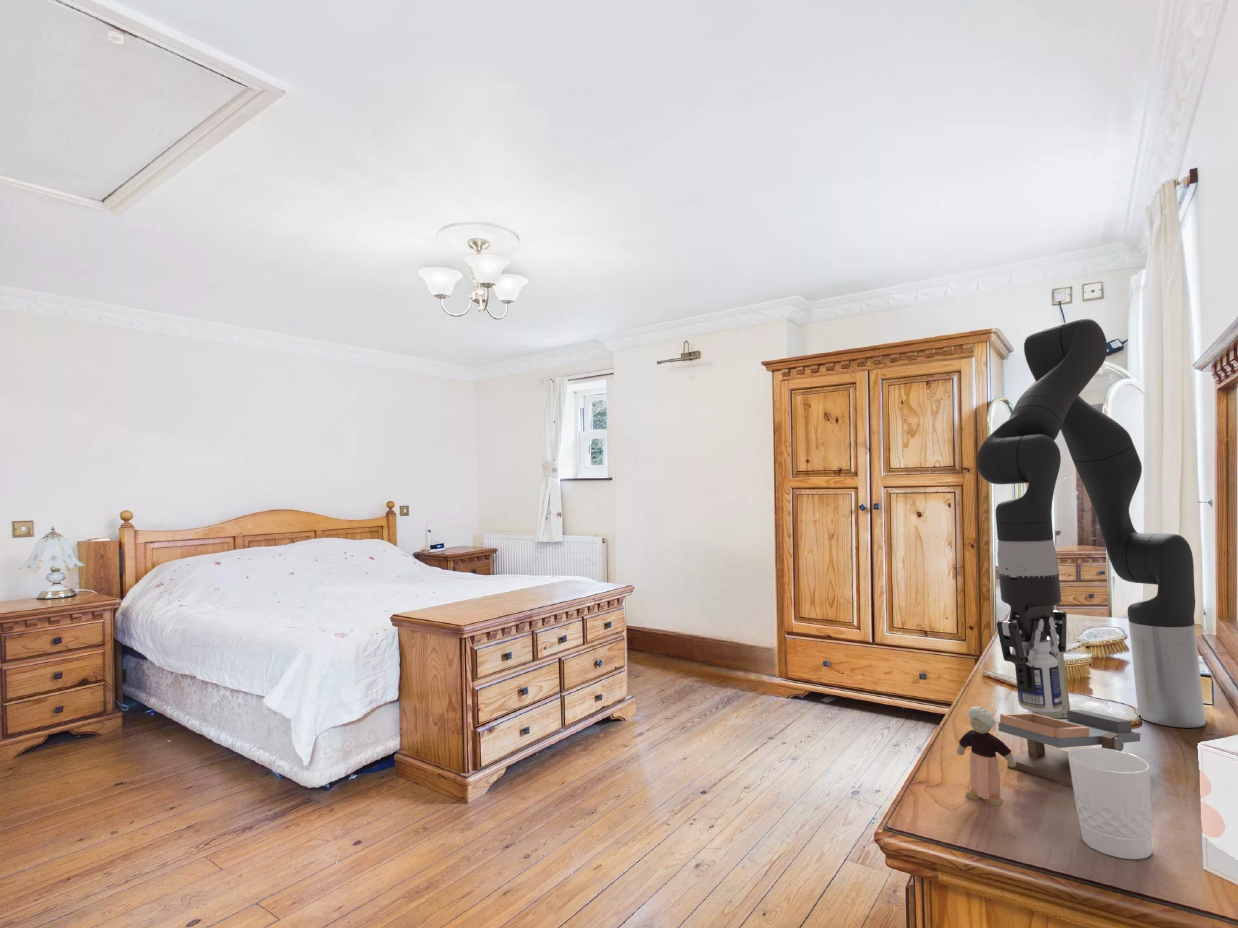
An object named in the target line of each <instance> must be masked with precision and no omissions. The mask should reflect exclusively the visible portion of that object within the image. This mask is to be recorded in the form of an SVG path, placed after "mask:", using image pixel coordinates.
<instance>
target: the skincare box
mask: <svg viewBox="0 0 1238 928" xmlns="http://www.w3.org/2000/svg"><path fill="white" fill-rule="evenodd" d="M1064 656H1065V655H1064V652H1060V657H1059V659H1057V661H1058V668H1059V678H1060V687H1061V697H1062V710H1061V711H1059V712H1054V713H1040V712H1038V713H1039V715H1042V716H1045V717H1049V718H1053V719H1067V710H1071V706H1070V705H1071V704H1070V699H1069V698H1070V697H1069V690H1068V688H1069V687H1068V681H1067V674H1066V666H1065V663H1066V662H1065V657H1064Z"/></svg>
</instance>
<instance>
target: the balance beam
mask: <svg viewBox="0 0 1238 928" xmlns="http://www.w3.org/2000/svg"><path fill="white" fill-rule="evenodd" d="M997 730H998V731H999V732H1000V733H1001V732H1002V733H1005V734H1009V735H1013V736H1016V737H1019V738H1023V739H1026V740H1027V739H1029V740H1033V741H1036V742H1040V743H1043V744H1044V745H1047V746H1050V747H1054V748H1057V749H1063V748H1064V749H1066V748H1075V747H1076V748H1079V747H1091V746H1102V743H1101V736H1102V735H1104V734H1107V733H1109V732H1110V733H1114V734H1118V735H1119V738H1121V739H1122V740H1123V743H1124V744H1126V743H1137V742H1141V732H1137V731H1132V721H1131V720H1127V719H1123V718H1119V717H1115V716H1111V715H1106V714H1102V713H1097V712H1094V711H1093V712H1092V711H1088V710H1086V709H1085V710H1083V709H1070V710H1067V718H1060V719H1058V718H1049V717H1045V716H1043V715H1042V716H1041V714H1038V715H1037V713H1031V712H1028V713H1027V712H1022V713H1000V714H999V721H998V729H997Z"/></svg>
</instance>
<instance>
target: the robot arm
mask: <svg viewBox="0 0 1238 928" xmlns="http://www.w3.org/2000/svg"><path fill="white" fill-rule="evenodd" d="M1023 350H1024V351H1023V352H1024V357H1025V361H1026V364H1027V365H1028V367H1029V368H1028V369H1029V370H1030V372H1031V374H1032V377H1033V379H1034V380H1035V382H1034V383H1033V384H1032V385H1030V387H1028V388H1027V389H1026V390H1025V391H1024V392H1023V393H1022V394H1021V396H1020V397H1019V398H1018V400H1017V402H1016V404H1015V406H1014V407H1013V409H1012V411H1011V413H1010V416H1009V418H1008V419H1007V420H1006V421H1004V422H1002V424H1000V426H999V427H997V428H996V429H995V430H994V431H993V432H992V433H991V434H990V435H989V436H987V438H985V440H983V442H982V444H981V446H980V447H979V450H978V453H977V456H976V465H977V466H976V468H977V470H978V473H979V474H980V476H981V477H982V479H984V480H985V481H986V482H988V483H990V484H993V485H1014V484H1015V485H1017V484H1028V486H1027V489H1026V491H1025V493H1024V494H1023V495H1022V496H1020V497H1017V498H1013V499H1009V500H1005V501H1001V502H1000V503H998V504H997V505H996V507H995V522H996V523H995V524H996V532H997V533H996V534H997V535H996V536H997V540H998V541H997V567H998V568H997V569H998V579H999V589H1000V599H1001V601H1002V602H1003V603H1005V604H1008V606H1009V607H1010V609H1009V610H1010V612H1009V616H1008V617H1009V618H1008V619H1007V620H997V622H996V628H997V629H996V630H997V634H998V638H999V644H1000V647H1001V653H1002V658H1003V660H1004V661H1005V662H1010V663H1012V664H1014V666H1015V668H1016V670H1015V678H1016V679H1017V680H1016V688H1017V687H1018V689H1019V690H1020V691H1025V692H1029V693H1032V692H1035V690H1036V686H1035V675H1034V666H1032V665H1033V659H1034V652H1035V651H1037V650H1038V649H1039V642H1040V640H1049V641H1050V646H1051V651H1050V652H1049V654H1050V655H1052V656H1054V657H1055V658H1056V659H1059V657H1060V652H1063V653H1066V651H1067V628H1068V627H1067V621H1068V620H1067V618H1068V617H1067V612H1066V611H1060V610H1054V608H1053V607H1055V606H1058V605H1059V604H1060V603H1061V602H1062V593H1061V585H1060V584H1061V583H1060V574H1059V573H1060V572H1059V571H1060V570H1059V564H1058V563H1059V562H1058V555H1057V550H1056V547H1055V541H1054V533H1053V522H1052V521H1053V520H1052V508H1053V507H1052V506H1053V501H1054V500H1053V499H1054V494H1055V488H1056V484H1057V480H1058V475H1059V473H1060V468H1061V463H1062V462H1061V461H1062V460H1061V459H1062V456H1061V450H1060V448H1059V446H1058V444H1057V443H1056V439H1057V438H1058V435H1059V433H1060V431H1061V434H1062V436H1063V439H1064V441H1065V444H1066V447H1067V449H1068V452H1069V455H1070V457H1071V460H1072V462H1073V465H1074V467H1075V470H1076V471H1077V473H1078V476H1079V478H1080V480H1081V482H1082V485H1083V487H1084V488H1085V491H1086V493H1087V496H1088V498H1089V501H1090V503H1091V506H1092V508H1093V511H1094V514H1095V516H1096V519H1097V522H1098V525H1099V529H1100V532H1101V536H1102V539H1103V543H1104V546H1105V549H1106V552H1107V556H1108V559H1109V561H1110V563H1111V566H1112V568H1113V570H1114V572H1115V573H1116V574H1117V576H1118V577H1119V578H1120V579H1121V580H1123V581H1125V582H1128V583H1135V584H1144V585H1145V584H1147V585H1157V593H1156V595H1155V596H1154V597H1152V598H1150V599H1148V600H1144V601H1139V602H1135V603H1132V604H1129V605H1128V607H1127V618H1128V629H1129V637H1130V639H1129V640H1130V649H1131V657H1132V658H1131V659H1132V665H1133V667H1132V669H1133V676H1134V687H1135V695H1136V704H1137V705H1136V707H1137V714H1139V715H1140V716H1141V717H1140V718H1141V719H1142V720H1145V721H1146V722H1150V723H1152V724H1156V725H1163V726H1167V727H1173V728H1185V729H1186V728H1188V729H1189V728H1201V727H1204V726H1205V725H1206V716H1205V707H1204V697H1203V695H1204V694H1203V688H1202V687H1203V685H1202V680H1201V679H1202V677H1201V676H1202V675H1201V668H1200V661H1199V658H1200V657H1199V651H1198V642H1197V634H1196V632H1197V631H1196V626H1195V625H1196V624H1195V623H1196V622H1195V610H1196V594H1195V591H1196V590H1195V568H1194V566H1195V565H1194V557H1193V551H1192V548H1191V545H1190V544H1189V542H1188V541H1187V539H1185V538H1184V537H1183V536H1182V535H1179V534H1176V533H1150V532H1148V533H1147V532H1146V533H1145V532H1144V533H1143V532H1142V533H1141V532H1137V530H1136V529H1135V527H1134V524H1133V523H1132V518H1131V514H1130V506H1131V502H1132V500H1133V498H1134V497H1133V496H1134V494H1135V492H1136V490H1137V488H1138V485H1139V483H1140V479H1141V477H1142V472H1143V471H1142V470H1143V468H1142V467H1143V466H1142V462H1141V459H1140V456H1139V454H1138V451H1137V449H1136V446H1135V444H1134V441H1133V439H1132V437H1131V435H1130V433H1129V432H1128V431H1127V429H1125V428H1124V427H1123V426H1122V425H1121V424H1120V423H1119V422H1117V421H1116V420H1114V419H1113V418H1111V417H1110V416H1108V415H1107V414H1105V413H1104V412H1101V411H1100V410H1099V409H1098V408H1096V407H1094V406H1092V405H1091V404H1089V403H1088V402H1087V401H1086V400H1085V399H1084V398H1082V397H1081V396H1080V394H1081V393H1082V391H1084V389H1085V388H1086V387H1087V385H1088V384H1089V383H1090V382H1091V380H1092V378H1093V377H1094V376H1095V375H1096V373H1097V372H1098V371H1099V370H1100V369H1101V368H1102V366H1103V364H1104V363H1105V360H1106V358H1107V356H1108V355H1107V354H1108V343H1107V338H1106V335H1105V333H1104V331H1103V328H1102V327H1101V325H1100V324H1099V323H1098V322H1097V321H1096V320H1094V319H1092V318H1087V317H1086V318H1085V317H1083V318H1078V319H1073V320H1070V321H1067V322H1063V323H1060V324H1057V325H1054V326H1051V327H1050V326H1049V327H1048V328H1043V329H1041V330H1037V331H1035V332H1032V333H1030V334H1029V335H1027V336H1026V338H1025V340H1024V343H1023ZM1022 641H1027V642H1029V643H1024V642H1022ZM1011 648H1012V649H1011ZM1023 649H1026V656H1025V655H1024V650H1023ZM1011 650H1012V651H1011ZM1015 668H1014V669H1015Z"/></svg>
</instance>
